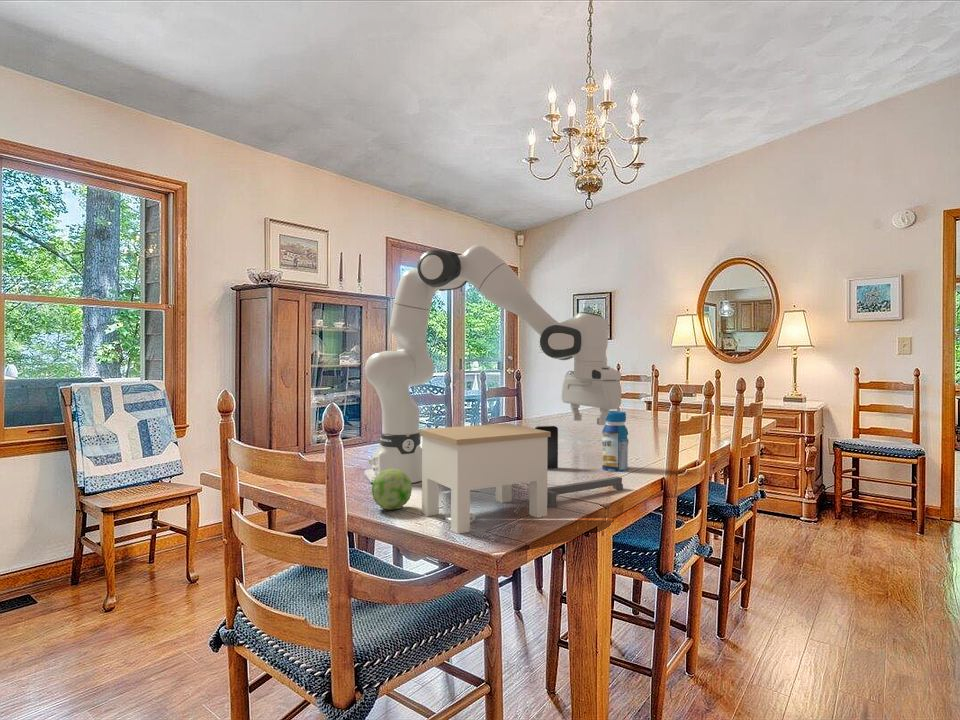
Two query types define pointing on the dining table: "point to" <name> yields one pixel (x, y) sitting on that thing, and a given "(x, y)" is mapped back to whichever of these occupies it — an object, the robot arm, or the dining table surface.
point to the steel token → (448, 518)
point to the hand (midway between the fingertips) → (589, 422)
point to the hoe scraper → (581, 488)
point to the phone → (551, 446)
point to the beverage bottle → (615, 442)
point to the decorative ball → (391, 489)
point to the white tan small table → (483, 466)
